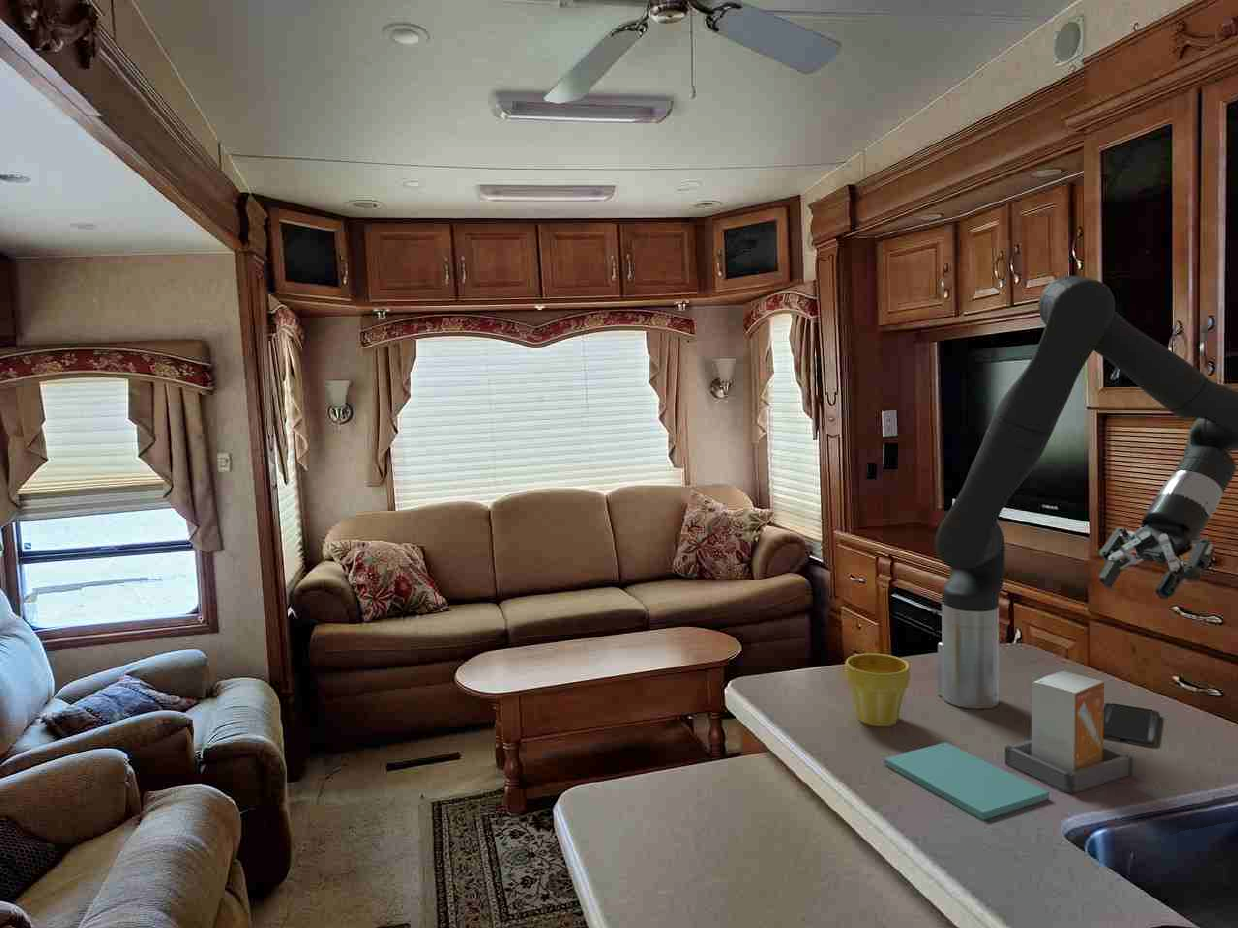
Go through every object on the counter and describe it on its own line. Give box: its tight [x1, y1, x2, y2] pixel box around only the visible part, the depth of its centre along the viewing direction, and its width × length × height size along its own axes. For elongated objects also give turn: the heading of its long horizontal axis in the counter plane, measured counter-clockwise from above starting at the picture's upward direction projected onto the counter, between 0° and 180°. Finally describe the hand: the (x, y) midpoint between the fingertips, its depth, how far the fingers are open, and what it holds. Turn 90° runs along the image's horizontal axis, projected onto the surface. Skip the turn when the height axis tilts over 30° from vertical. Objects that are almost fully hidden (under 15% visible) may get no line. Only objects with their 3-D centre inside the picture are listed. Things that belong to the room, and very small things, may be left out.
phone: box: [1103, 702, 1160, 748], centre depth 132 cm, size 8×1×15 cm
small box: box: [1031, 670, 1105, 772], centre depth 118 cm, size 8×6×13 cm
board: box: [883, 742, 1050, 821], centre depth 115 cm, size 18×12×1 cm, turn 24°
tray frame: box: [1004, 739, 1133, 795], centre depth 118 cm, size 11×13×2 cm
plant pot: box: [844, 653, 911, 727], centre depth 138 cm, size 10×10×10 cm
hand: (1131, 590), depth 121 cm, fingers open, 8 cm apart
